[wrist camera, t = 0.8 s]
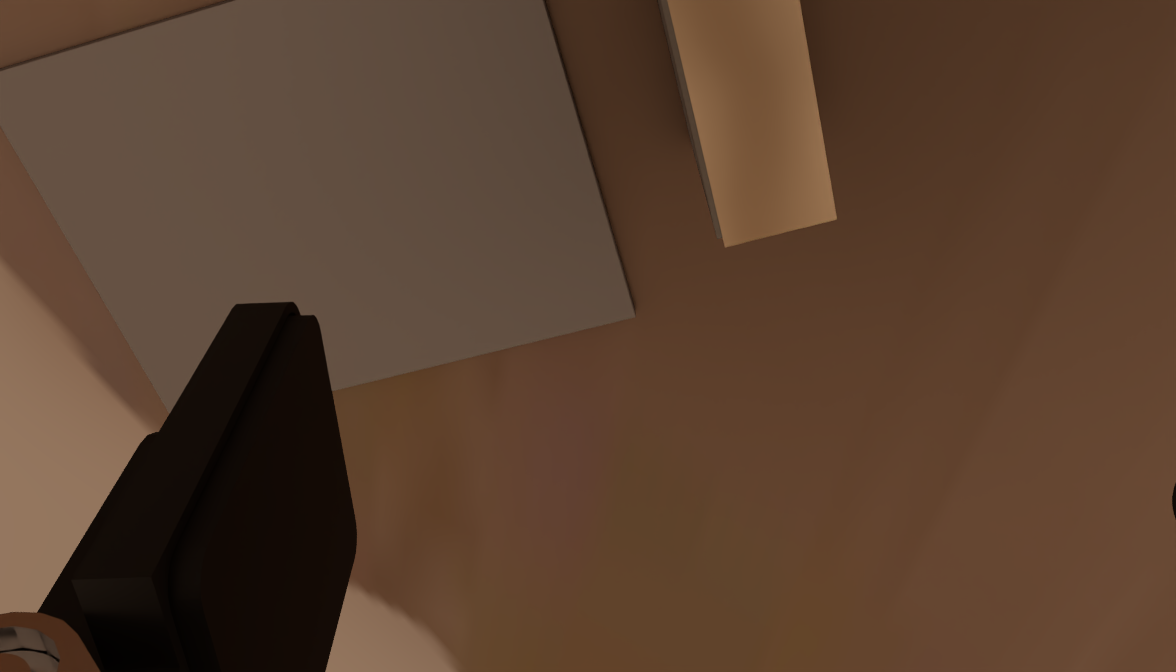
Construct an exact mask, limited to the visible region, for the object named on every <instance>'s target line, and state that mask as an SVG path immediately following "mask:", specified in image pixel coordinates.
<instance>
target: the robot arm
mask: <svg viewBox="0 0 1176 672" xmlns="http://www.w3.org/2000/svg"><path fill="white" fill-rule="evenodd" d="M1172 506H1173V511H1174V515H1175V518H1176V484H1175V487H1174V491H1173V496H1172ZM356 545H357V530H356V520H355V514H354V509H353V503H352V498H351V492H350V487H349V482H348V476H347V471H346V465H345V460H344V454H343V449H342V443H341V438H340V433H339V427H338V422H337V416H336V411H335V405H334V400H333V394H332V389H331V383H330V378H329V373H328V367H327V362H326V356H325V351H324V345H323V340H322V334H321V329H320V325H319V322H318V320H317V317H316V316H315V315H301V314H300V312H299V309H298V307H297V305H296V304H295V303H294V302H272V303H244V304H236V305H235V306H234V307H233V308H232V309H231V311H230V313H229V314H228V316H227V318H226V319H225V321H224V323H223V325H222V326H221V328H220V330H219V331H218V333H217V335H216V336H215V338H214V340H213V341H212V343H211V345H210V346H209V348H208V350H207V352H206V353H205V355H204V357H203V358H202V360H201V362H200V363H199V365H198V367H197V368H196V370H195V372H194V373H193V375H192V377H191V379H190V380H189V382H188V384H187V385H186V387H185V389H184V390H183V392H182V394H181V395H180V397H179V399H178V400H177V402H176V404H175V406H174V407H173V409H172V411H171V412H170V414H169V416H168V417H167V419H166V421H165V422H164V424H163V426H162V427H161V429H160V431H159V432H155V433H152V434H149V435H147V436H146V438H145V439H144V440H143V441H142V442H141V443H140V445H139V446H138V448H137V450H136V451H135V453H134V454H133V456H132V458H131V459H130V461H129V463H128V464H127V466H126V467H125V469H124V471H123V472H122V474H121V476H120V477H119V479H118V481H117V482H116V484H115V486H114V487H113V489H112V490H111V492H110V494H109V495H108V497H107V499H106V500H105V502H104V504H103V505H102V507H101V509H100V510H99V512H98V513H97V515H96V517H95V518H94V520H93V522H92V523H91V525H90V527H89V528H88V530H87V531H86V533H85V535H84V537H83V538H82V540H81V541H80V543H79V545H78V546H77V548H76V550H75V551H74V553H73V554H72V556H71V558H70V560H69V561H68V563H67V564H66V566H65V568H64V569H63V571H62V573H61V574H60V576H59V577H58V579H57V581H56V582H55V584H54V586H53V587H52V589H51V591H50V592H49V594H48V595H47V597H46V599H45V600H44V602H43V604H42V606H41V607H40V609H39V610H38V612H37V613H29V612H10V613H6V614H0V672H325V670H326V667H327V663H328V659H329V655H330V651H331V647H332V644H333V640H334V636H335V632H336V628H337V624H338V620H339V617H340V613H341V609H342V605H343V601H344V597H345V593H346V589H347V586H348V582H349V578H350V574H351V570H352V567H353V563H354V559H355V554H356Z"/></svg>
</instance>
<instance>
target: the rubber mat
mask: <svg viewBox="0 0 1176 672" xmlns="http://www.w3.org/2000/svg"><path fill="white" fill-rule="evenodd" d="M0 126H1V128H2V130H3V131H4V133H5V135H6V137H7V138H8V140H9V142H10V143H11V145H12V147H13V148H14V150H15V152H16V154H17V155H18V157H19V159H20V160H21V162H22V164H23V165H24V167H25V169H26V171H27V172H28V174H29V176H30V177H31V179H32V181H33V182H34V184H35V186H36V188H37V189H38V191H39V193H40V194H41V196H42V198H43V199H44V201H45V203H46V205H47V206H48V208H49V210H50V211H51V213H52V215H53V216H54V218H55V220H56V222H57V223H58V225H59V227H60V228H61V230H62V232H63V234H64V235H65V237H66V239H67V240H68V242H69V244H70V245H71V247H72V249H73V251H74V252H75V254H76V256H77V257H78V259H79V261H80V262H81V264H82V266H83V268H84V269H85V271H86V273H87V274H88V276H89V278H90V279H91V281H92V283H93V285H94V286H95V288H96V290H97V291H98V293H99V295H100V296H101V298H102V300H103V302H104V303H105V305H106V307H107V308H108V310H109V312H110V313H111V315H112V317H113V319H114V320H115V322H116V324H117V325H118V327H119V329H120V331H121V332H122V334H123V336H124V337H125V339H126V341H127V342H128V344H129V346H130V348H131V349H132V351H133V353H134V354H135V356H136V358H137V359H138V361H139V363H140V365H141V366H142V368H143V370H144V371H145V373H146V375H147V376H148V378H149V380H150V382H151V383H152V385H153V387H154V388H155V390H156V392H157V393H158V395H159V397H160V399H161V400H162V402H163V404H164V405H165V407H166V409H167V410H168V412H169V414H170V412H171V411H172V409H173V407H174V406H175V404H176V402H177V400H178V399H179V397H180V395H181V394H182V392H183V390H184V389H185V387H186V385H187V384H188V382H189V380H190V379H191V377H192V375H193V373H194V372H195V370H196V368H197V367H198V365H199V363H200V362H201V360H202V358H203V357H204V355H205V353H206V352H207V350H208V348H209V346H210V345H211V343H212V341H213V340H214V338H215V336H216V335H217V333H218V331H219V330H220V328H221V326H222V325H223V323H224V321H225V319H226V318H227V316H228V314H229V313H230V311H231V309H232V308H233V307H234V306H235V305H236V304H244V303H272V302H294V303H295V304H296V305H297V307H298V309H299V312H300V314H301V315H315V316H316V317H317V320H318V322H319V325H320V329H321V334H322V340H323V345H324V351H325V356H326V362H327V367H328V373H329V378H330V383H331V389H332V391H335V390H339V389H343V388H347V387H351V386H356V385H360V384H364V383H368V382H372V381H376V380H380V379H384V378H388V377H392V376H396V375H401V374H405V373H409V372H413V371H417V370H421V369H425V368H429V367H433V366H437V365H441V364H446V363H450V362H454V361H458V360H462V359H466V358H470V357H474V356H478V355H482V354H487V353H491V352H495V351H499V350H503V349H507V348H511V347H515V346H519V345H523V344H527V343H532V342H536V341H540V340H544V339H548V338H552V337H556V336H560V335H564V334H568V333H572V332H577V331H581V330H585V329H589V328H593V327H597V326H601V325H605V324H609V323H613V322H617V321H622V320H626V319H630V318H634V317H636V314H635V307H634V304H633V300H632V297H631V293H630V290H629V286H628V283H627V280H626V276H625V273H624V269H623V266H622V263H621V259H620V256H619V252H618V249H617V245H616V242H615V239H614V235H613V232H612V228H611V225H610V221H609V218H608V215H607V211H606V208H605V204H604V201H603V197H602V194H601V191H600V187H599V184H598V180H597V177H596V174H595V170H594V167H593V163H592V160H591V156H590V153H589V150H588V146H587V143H586V139H585V136H584V132H583V129H582V126H581V122H580V119H579V115H578V112H577V108H576V105H575V102H574V98H573V95H572V91H571V88H570V85H569V81H568V78H567V74H566V71H565V67H564V64H563V61H562V57H561V54H560V50H559V47H558V43H557V40H556V37H555V33H554V30H553V26H552V23H551V19H550V16H549V13H548V9H547V6H546V2H545V0H226V1H223V2H219V3H216V4H213V5H209V6H206V7H203V8H200V9H196V10H193V11H190V12H186V13H183V14H180V15H176V16H173V17H170V18H166V19H163V20H160V21H156V22H153V23H150V24H147V25H143V26H140V27H137V28H133V29H130V30H127V31H123V32H120V33H117V34H113V35H110V36H107V37H103V38H100V39H97V40H94V41H90V42H87V43H84V44H80V45H77V46H74V47H70V48H67V49H64V50H60V51H57V52H54V53H50V54H47V55H44V56H41V57H37V58H34V59H31V60H27V61H24V62H21V63H17V64H14V65H11V66H7V67H4V68H1V69H0Z"/></svg>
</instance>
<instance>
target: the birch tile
mask: <svg viewBox="0 0 1176 672" xmlns="http://www.w3.org/2000/svg"><path fill="white" fill-rule="evenodd" d="M657 2H658V6H659V10H660V14H661V18H662V23H663V27H664V31H665V35H666V39H667V44H668V48H669V52H670V56H671V60H672V65H673V69H674V73H675V77H676V81H677V86H678V90H679V94H680V98H681V102H682V107H683V111H684V115H685V119H686V123H687V128H688V132H689V136H690V140H691V144H692V148H693V151H694V155H695V159H696V162H697V166H698V170H699V174H700V177H701V181H702V185H703V188H704V192H705V196H706V199H707V203H708V207H709V211H710V214H711V218H712V222H713V225H714V229H715V233H716V236H717V239H719V238H723V242H724V245H725V247H729V246H733V245H737V244H741V243H745V242H749V241H753V240H757V239H761V238H765V237H769V236H773V235H777V234H781V233H785V232H788V231H792V230H796V229H800V228H804V227H808V226H812V225H816V224H820V223H824V222H828V221H832V220H836V219H837V217H836V211H835V205H834V199H833V193H832V187H831V182H830V176H829V170H828V164H827V158H826V152H825V146H824V140H823V135H822V129H821V123H820V117H819V111H818V105H817V99H816V94H815V88H814V82H813V76H812V70H811V64H810V58H809V52H808V47H807V41H806V35H805V29H804V23H803V17H802V11H801V6H800V0H657Z"/></svg>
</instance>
